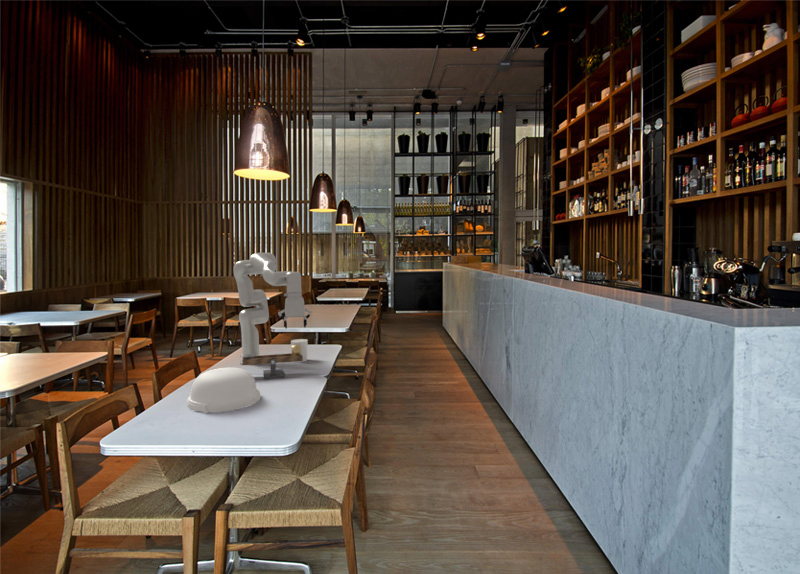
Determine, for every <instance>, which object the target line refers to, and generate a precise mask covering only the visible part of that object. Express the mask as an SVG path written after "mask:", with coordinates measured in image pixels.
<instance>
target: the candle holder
mask: <svg viewBox="0 0 800 574" xmlns="http://www.w3.org/2000/svg"><path fill="white" fill-rule="evenodd" d="M308 341H309V340H308V339H306V338H305V339H304V338H298V339H297V338H296V339H292V340H290V347H291V349H292V345H301V355H302V357H303V361H295V362H294V363H303V362H306V361H308V345H309V344H308Z"/></svg>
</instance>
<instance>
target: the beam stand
mask: <svg viewBox="0 0 800 574" xmlns="http://www.w3.org/2000/svg"><path fill="white" fill-rule="evenodd" d="M269 364H270V369H263V371H262V372H263V374H262V375H263V376H262V377H263V380H270V379H271V380H272V379H284V377H285V375H284V370H283V368H277V366H276V365H277V363H276V362H275V359H273V360H271V363H269Z"/></svg>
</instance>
